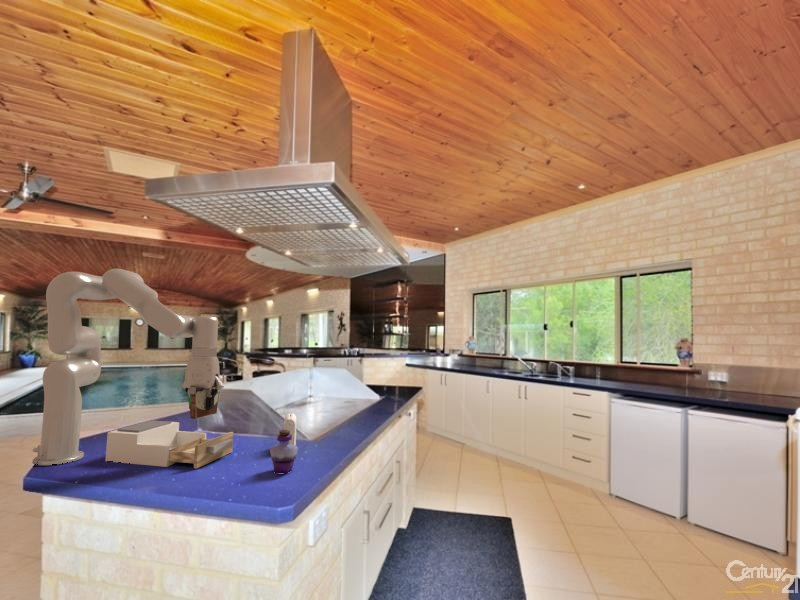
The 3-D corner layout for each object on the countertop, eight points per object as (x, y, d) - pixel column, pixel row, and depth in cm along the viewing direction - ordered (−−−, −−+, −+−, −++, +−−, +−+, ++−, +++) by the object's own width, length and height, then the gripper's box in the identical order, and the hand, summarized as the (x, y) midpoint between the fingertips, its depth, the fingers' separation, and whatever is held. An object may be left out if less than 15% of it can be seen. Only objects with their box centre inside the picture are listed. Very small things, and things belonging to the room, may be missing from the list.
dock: (205, 450, 144) (207, 422, 145) (166, 466, 126) (168, 434, 127) (150, 446, 148) (152, 418, 149) (105, 461, 130) (107, 430, 131)
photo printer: (294, 452, 143) (296, 416, 144) (281, 453, 142) (283, 416, 143) (296, 444, 153) (297, 411, 154) (284, 445, 152) (285, 411, 153)
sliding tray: (239, 452, 141) (240, 432, 142) (204, 469, 123) (205, 446, 124) (201, 449, 144) (203, 429, 145) (162, 465, 126) (163, 443, 127)
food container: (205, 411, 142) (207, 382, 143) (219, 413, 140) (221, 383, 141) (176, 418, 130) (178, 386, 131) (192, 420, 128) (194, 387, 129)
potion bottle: (288, 465, 130) (289, 426, 131) (303, 471, 124) (304, 431, 125) (262, 471, 124) (264, 430, 125) (277, 478, 118) (279, 435, 119)
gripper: (173, 353, 135) (170, 409, 133) (220, 354, 132) (217, 412, 130) (189, 352, 142) (186, 405, 141) (234, 353, 139) (231, 408, 137)
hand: (201, 408), depth 135 cm, fingers closed on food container, 5 cm apart
